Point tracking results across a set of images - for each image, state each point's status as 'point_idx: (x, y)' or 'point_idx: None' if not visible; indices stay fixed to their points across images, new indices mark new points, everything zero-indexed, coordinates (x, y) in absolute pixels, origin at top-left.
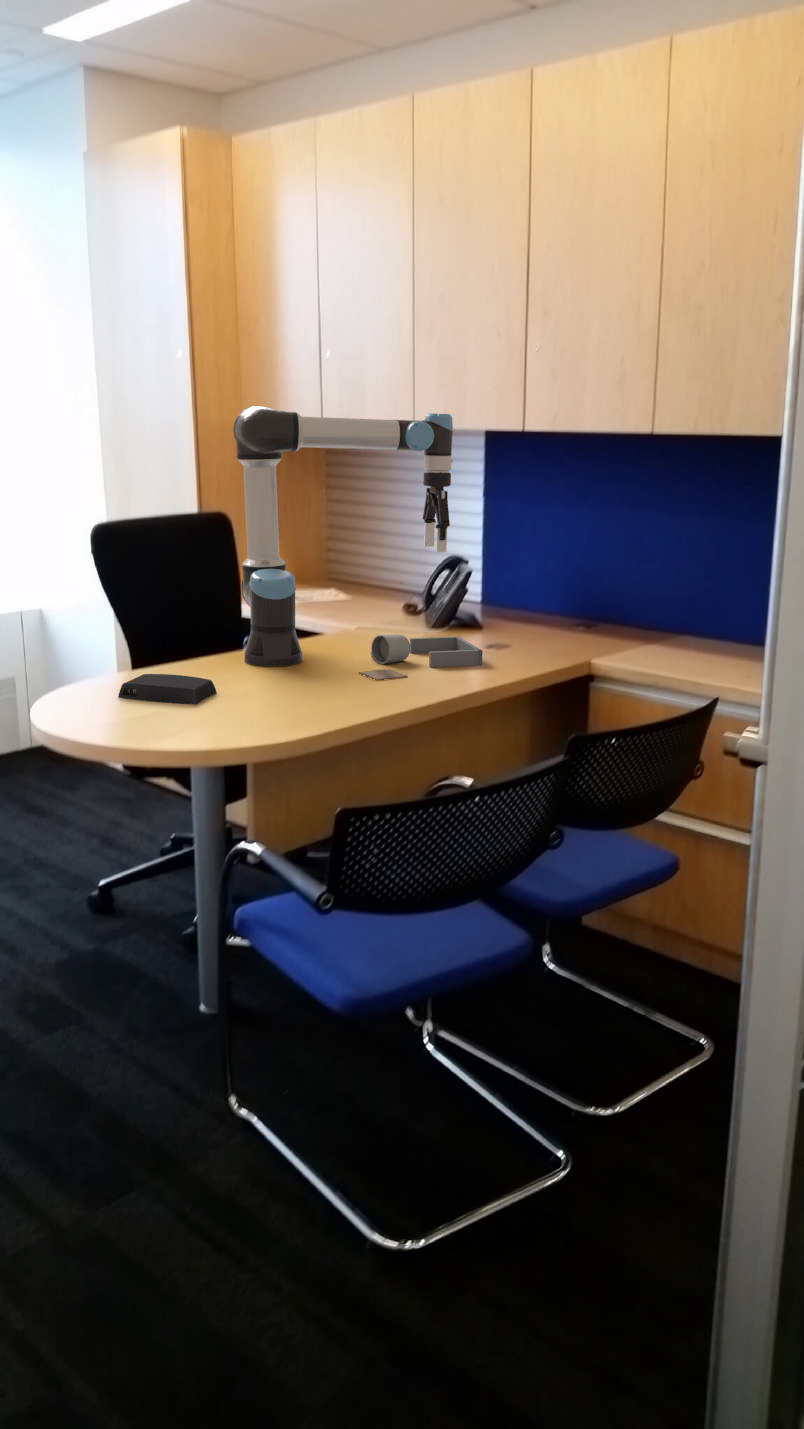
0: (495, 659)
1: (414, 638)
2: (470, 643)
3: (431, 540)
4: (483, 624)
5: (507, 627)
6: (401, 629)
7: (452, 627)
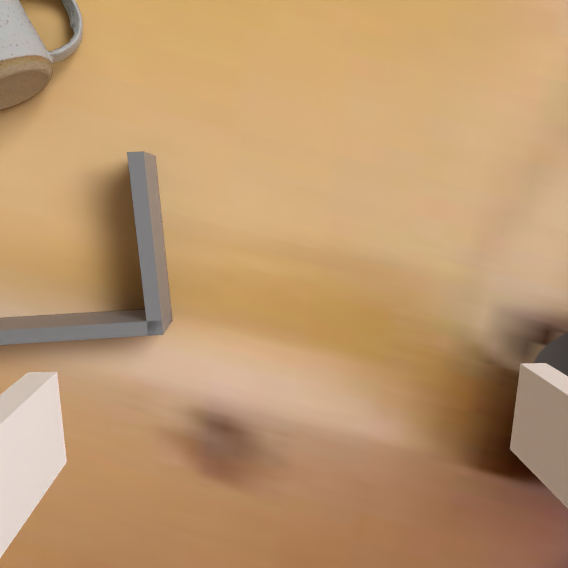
0: None
1: (138, 168)
2: (36, 342)
3: (551, 459)
4: None
5: (494, 543)
6: (541, 222)
7: None
